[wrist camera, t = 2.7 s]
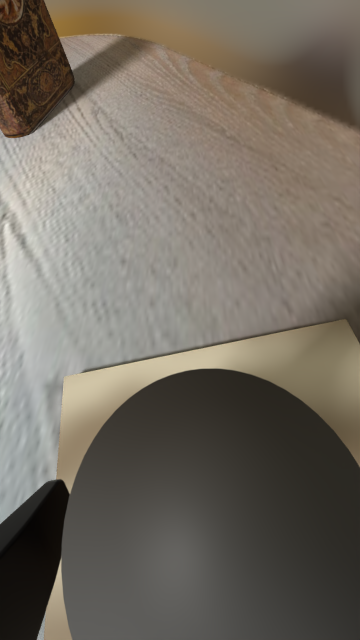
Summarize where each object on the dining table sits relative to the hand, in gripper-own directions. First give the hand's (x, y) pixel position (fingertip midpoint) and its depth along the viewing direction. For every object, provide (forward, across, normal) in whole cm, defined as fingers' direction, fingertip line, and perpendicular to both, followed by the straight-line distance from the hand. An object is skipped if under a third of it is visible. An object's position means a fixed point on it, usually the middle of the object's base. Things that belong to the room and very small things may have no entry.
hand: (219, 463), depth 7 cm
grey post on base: (+4, 0, +5) cm, 7 cm away
